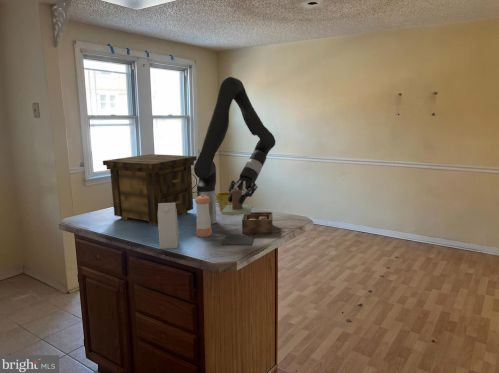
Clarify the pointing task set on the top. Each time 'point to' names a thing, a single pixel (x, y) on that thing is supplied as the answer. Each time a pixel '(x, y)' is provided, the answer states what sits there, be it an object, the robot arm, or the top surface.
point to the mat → (238, 240)
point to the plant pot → (223, 199)
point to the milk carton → (167, 225)
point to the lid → (236, 205)
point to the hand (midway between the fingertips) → (234, 202)
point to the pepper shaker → (203, 216)
